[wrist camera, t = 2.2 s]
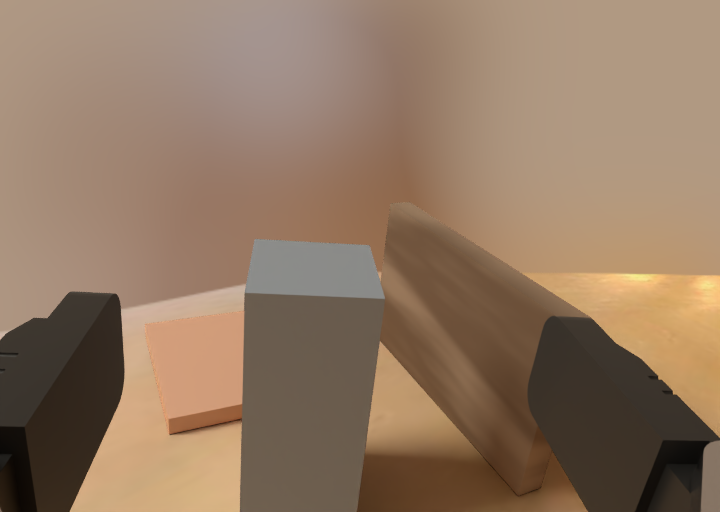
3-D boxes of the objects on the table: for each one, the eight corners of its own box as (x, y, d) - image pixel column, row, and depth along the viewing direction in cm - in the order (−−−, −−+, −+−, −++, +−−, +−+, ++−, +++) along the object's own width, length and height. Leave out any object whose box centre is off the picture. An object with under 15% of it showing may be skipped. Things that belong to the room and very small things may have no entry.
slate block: (248, 451, 29) (255, 237, 25) (345, 452, 30) (369, 243, 25) (239, 538, 25) (244, 292, 20) (353, 536, 25) (385, 298, 20)
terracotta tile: (287, 316, 42) (288, 304, 42) (341, 396, 34) (343, 383, 34) (145, 336, 38) (144, 324, 38) (168, 434, 30) (168, 418, 29)
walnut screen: (391, 330, 42) (409, 202, 38) (540, 487, 29) (591, 318, 25) (374, 333, 41) (390, 203, 37) (518, 495, 28) (566, 322, 24)
